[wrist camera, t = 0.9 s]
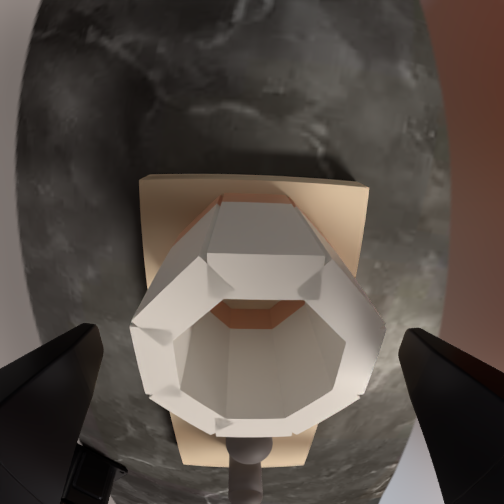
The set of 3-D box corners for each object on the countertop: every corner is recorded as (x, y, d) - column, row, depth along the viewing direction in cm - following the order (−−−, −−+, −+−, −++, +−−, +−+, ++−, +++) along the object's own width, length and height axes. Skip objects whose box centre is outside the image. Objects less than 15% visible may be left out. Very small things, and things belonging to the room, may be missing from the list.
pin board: (301, 450, 20) (312, 519, 14) (185, 449, 20) (176, 519, 14) (356, 181, 13) (438, 225, 7) (149, 174, 13) (76, 213, 6)
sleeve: (314, 327, 14) (348, 430, 8) (183, 325, 14) (156, 431, 8) (332, 197, 12) (405, 257, 6) (175, 192, 11) (117, 250, 6)
